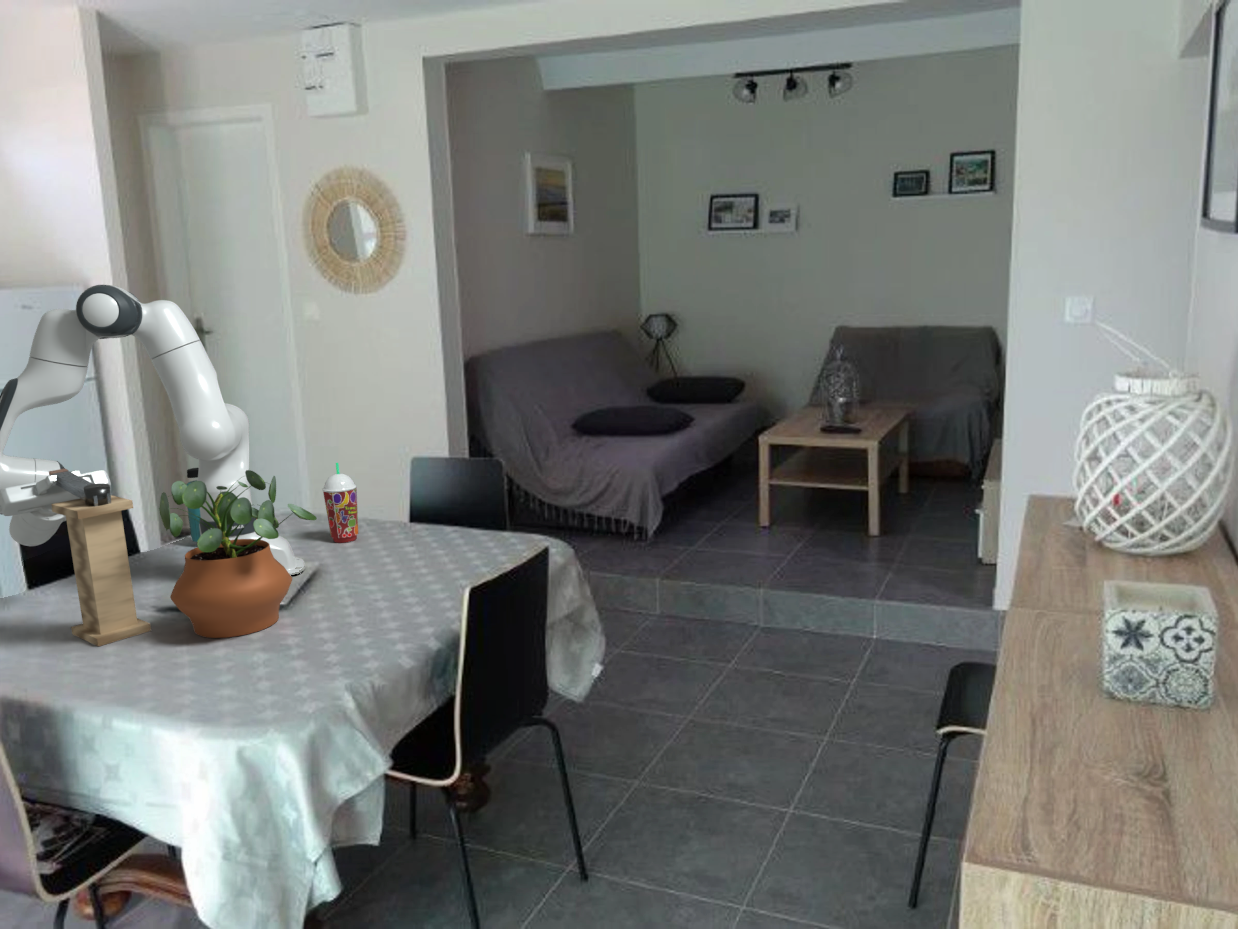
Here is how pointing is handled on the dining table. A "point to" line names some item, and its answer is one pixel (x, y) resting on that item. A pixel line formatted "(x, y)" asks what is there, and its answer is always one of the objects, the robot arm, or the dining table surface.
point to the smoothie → (341, 507)
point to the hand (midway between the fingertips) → (64, 476)
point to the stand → (101, 571)
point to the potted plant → (229, 561)
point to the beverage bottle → (194, 510)
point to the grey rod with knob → (83, 488)
